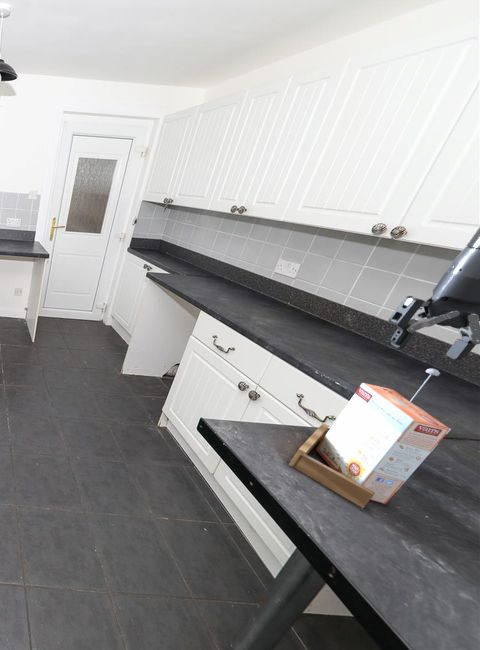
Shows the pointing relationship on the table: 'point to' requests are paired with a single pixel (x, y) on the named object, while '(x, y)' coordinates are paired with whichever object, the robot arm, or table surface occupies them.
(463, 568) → the table surface
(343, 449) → the cracker box
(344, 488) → the rack
